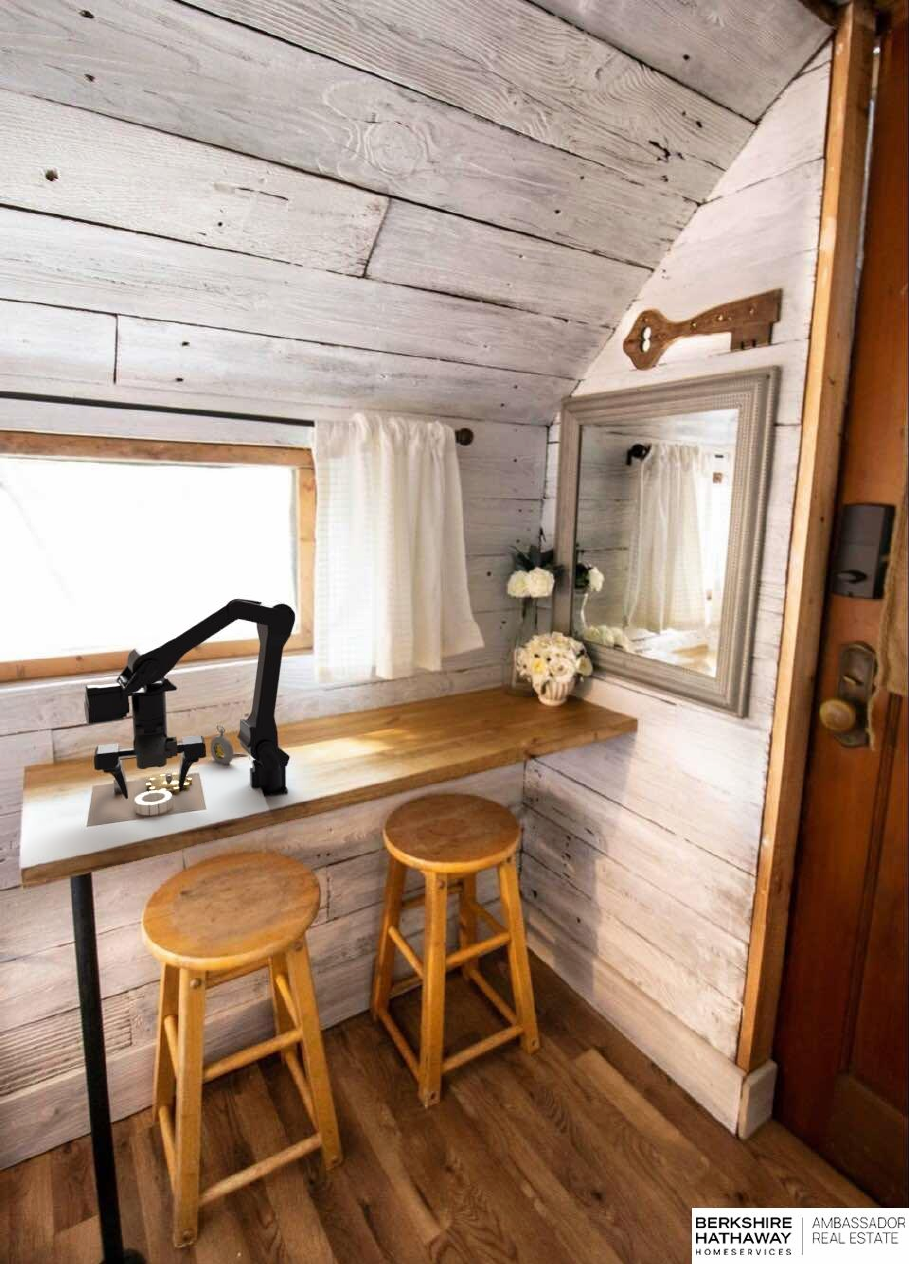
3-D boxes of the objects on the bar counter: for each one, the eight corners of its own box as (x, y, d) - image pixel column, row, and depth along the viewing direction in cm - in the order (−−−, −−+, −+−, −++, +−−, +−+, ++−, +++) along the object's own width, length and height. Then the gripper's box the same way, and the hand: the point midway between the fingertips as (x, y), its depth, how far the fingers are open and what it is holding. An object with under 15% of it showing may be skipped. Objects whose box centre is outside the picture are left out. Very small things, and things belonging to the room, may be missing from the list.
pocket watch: (253, 758, 158) (252, 716, 156) (243, 772, 149) (242, 729, 147) (217, 757, 157) (216, 715, 155) (205, 771, 149) (204, 728, 147)
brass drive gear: (190, 775, 143) (190, 764, 143) (193, 791, 136) (192, 780, 136) (146, 780, 140) (145, 770, 139) (146, 797, 132) (145, 786, 132)
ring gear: (171, 797, 133) (171, 788, 132) (173, 811, 127) (172, 801, 127) (135, 802, 130) (134, 792, 130) (135, 817, 125) (134, 807, 124)
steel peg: (125, 789, 136) (125, 777, 135) (125, 793, 134) (124, 781, 133) (114, 791, 135) (113, 778, 134) (114, 795, 133) (113, 782, 132)
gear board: (199, 779, 145) (199, 772, 145) (206, 816, 129) (206, 808, 129) (93, 792, 137) (93, 785, 137) (87, 834, 121) (86, 826, 121)
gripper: (89, 735, 114) (95, 821, 117) (207, 724, 122) (210, 805, 125) (93, 715, 124) (99, 795, 127) (202, 705, 132) (205, 781, 135)
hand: (153, 794), depth 128 cm, fingers open, 9 cm apart
